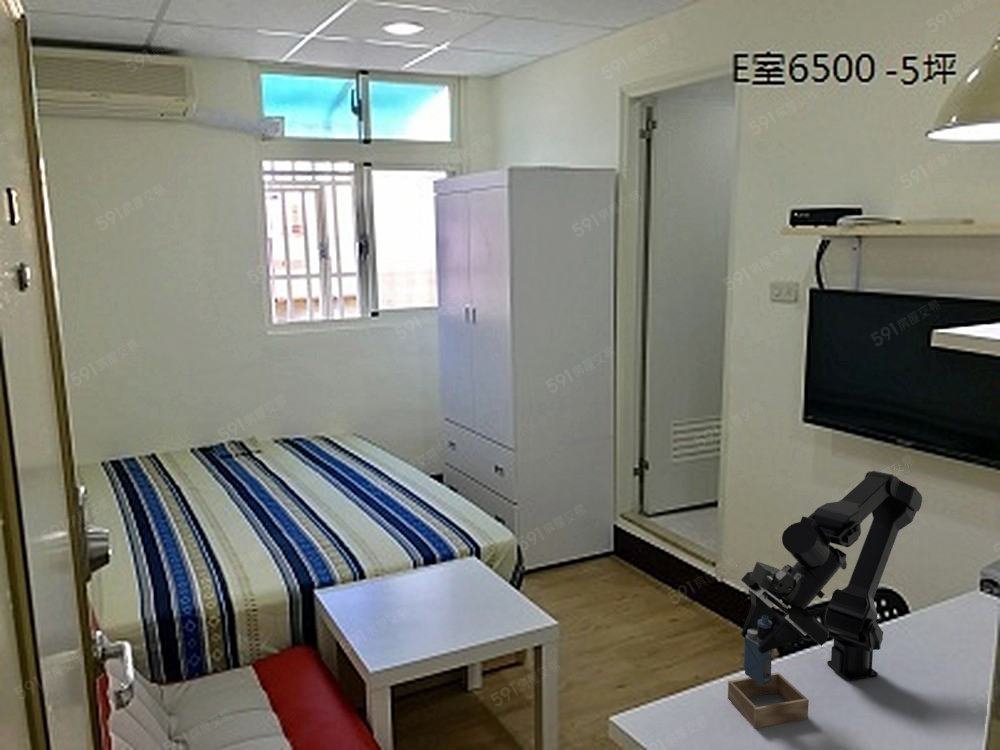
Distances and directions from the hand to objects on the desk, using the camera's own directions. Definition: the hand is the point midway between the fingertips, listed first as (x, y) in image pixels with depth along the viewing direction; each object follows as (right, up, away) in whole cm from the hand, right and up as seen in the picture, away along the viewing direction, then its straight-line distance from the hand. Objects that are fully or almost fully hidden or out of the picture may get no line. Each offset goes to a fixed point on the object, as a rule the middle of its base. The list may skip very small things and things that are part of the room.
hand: (751, 643), depth 134 cm
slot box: (+4, -12, +3) cm, 13 cm away
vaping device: (+2, -7, +2) cm, 7 cm away
